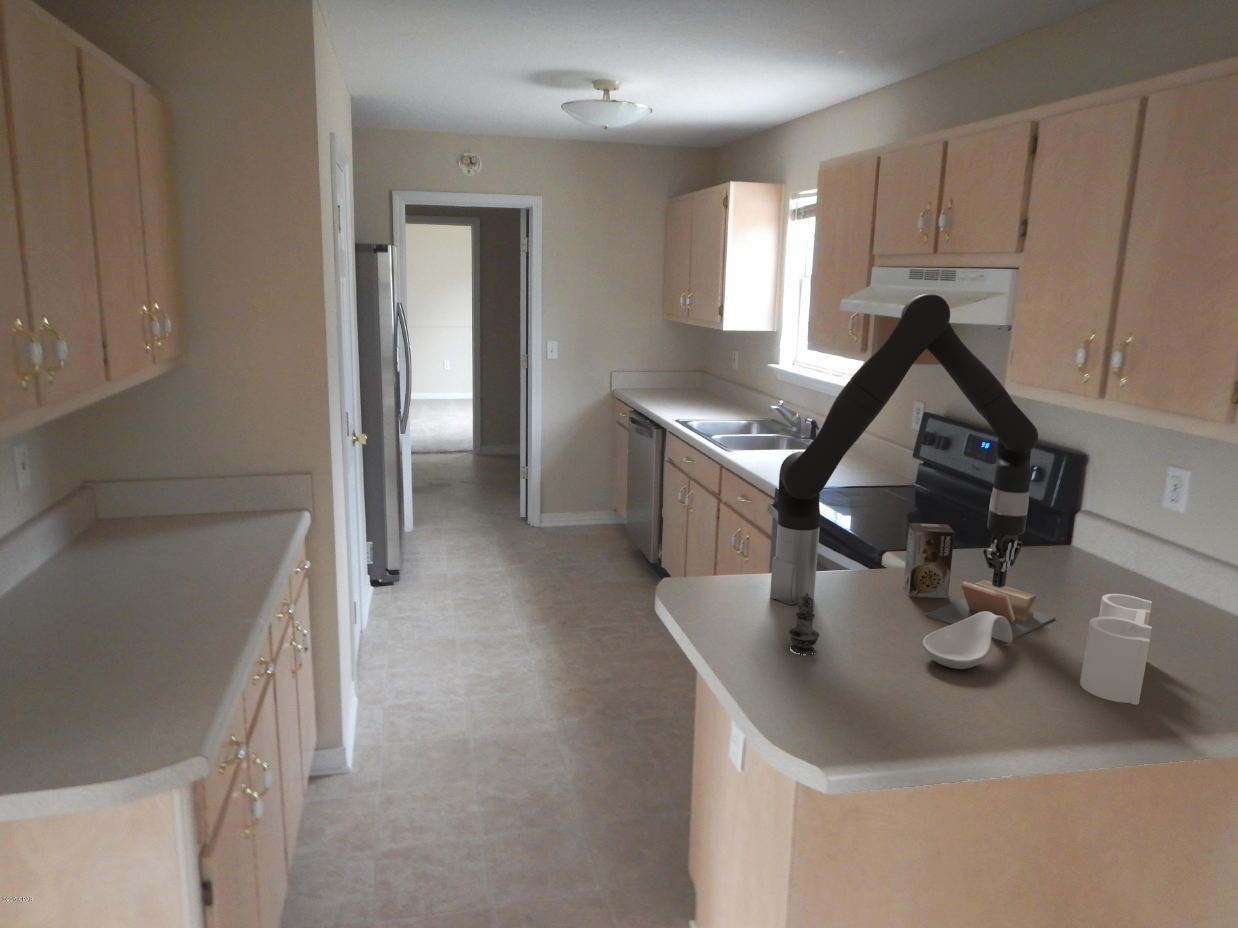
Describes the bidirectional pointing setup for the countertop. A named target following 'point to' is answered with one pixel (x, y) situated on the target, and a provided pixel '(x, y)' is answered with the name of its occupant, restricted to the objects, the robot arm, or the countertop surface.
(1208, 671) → the countertop surface
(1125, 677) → the bracket
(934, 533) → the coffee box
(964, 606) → the mat
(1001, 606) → the tile
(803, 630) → the chess piece
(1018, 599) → the block
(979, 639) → the spoon rest
